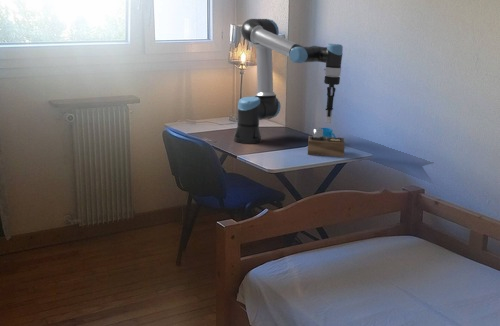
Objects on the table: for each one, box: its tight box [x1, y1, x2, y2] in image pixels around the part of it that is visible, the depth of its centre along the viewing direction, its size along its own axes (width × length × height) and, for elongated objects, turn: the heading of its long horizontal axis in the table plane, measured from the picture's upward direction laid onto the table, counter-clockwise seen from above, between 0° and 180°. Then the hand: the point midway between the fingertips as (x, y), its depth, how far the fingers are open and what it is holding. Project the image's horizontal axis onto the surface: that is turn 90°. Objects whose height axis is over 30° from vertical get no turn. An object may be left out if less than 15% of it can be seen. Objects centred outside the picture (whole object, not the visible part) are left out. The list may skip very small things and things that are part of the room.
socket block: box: [307, 135, 346, 158], centre depth 290 cm, size 12×18×7 cm, turn 84°
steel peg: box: [312, 127, 323, 140], centre depth 290 cm, size 5×5×7 cm
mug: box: [319, 127, 337, 138], centre depth 309 cm, size 12×8×8 cm
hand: (328, 122), depth 288 cm, fingers closed
